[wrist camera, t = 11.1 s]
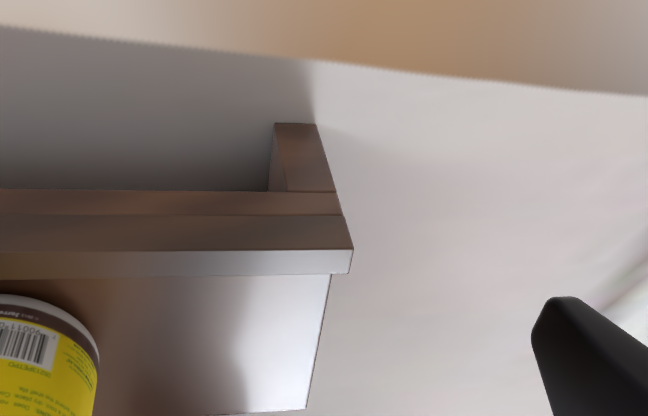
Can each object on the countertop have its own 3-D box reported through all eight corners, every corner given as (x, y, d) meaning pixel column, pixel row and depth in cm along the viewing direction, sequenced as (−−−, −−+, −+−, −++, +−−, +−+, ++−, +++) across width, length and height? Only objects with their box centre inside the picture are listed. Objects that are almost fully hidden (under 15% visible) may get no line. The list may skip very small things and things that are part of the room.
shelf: (316, 123, 21) (354, 248, 16) (290, 308, 27) (311, 445, 22) (-337, 99, 17) (-584, 256, 12) (-200, 323, 23) (-323, 496, 18)
